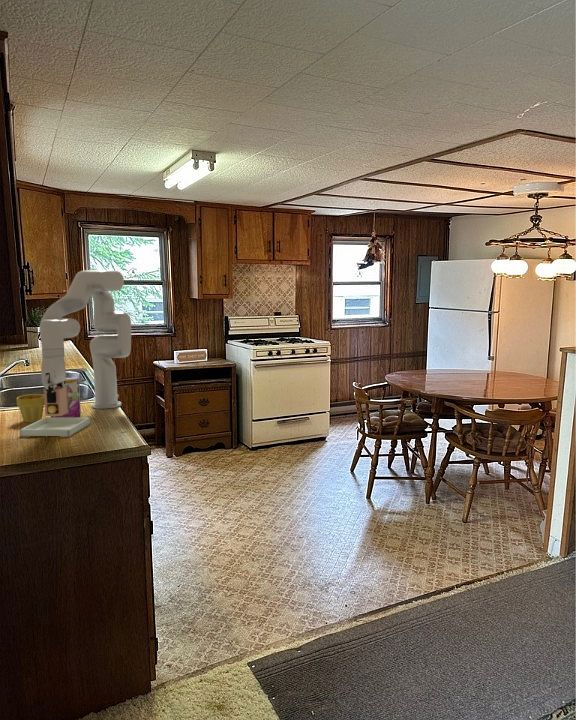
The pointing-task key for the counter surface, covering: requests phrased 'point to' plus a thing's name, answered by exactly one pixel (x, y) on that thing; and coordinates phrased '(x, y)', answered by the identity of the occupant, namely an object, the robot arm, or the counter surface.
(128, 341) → the robot arm
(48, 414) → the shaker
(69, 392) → the candy bar box
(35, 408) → the plant pot
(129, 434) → the counter surface
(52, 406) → the ball
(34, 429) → the tray
